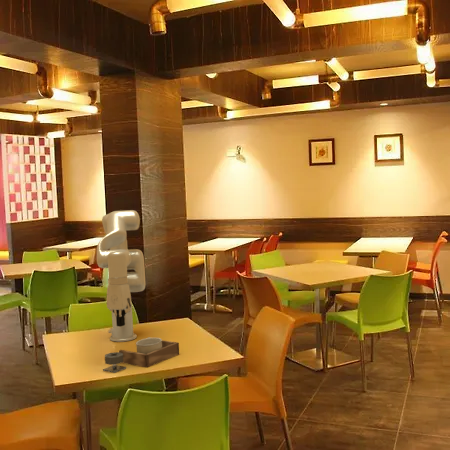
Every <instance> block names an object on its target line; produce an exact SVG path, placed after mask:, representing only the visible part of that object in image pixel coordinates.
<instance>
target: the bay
mask: <svg viewBox="0 0 450 450" xmlns="http://www.w3.org/2000/svg"><path fill="white" fill-rule="evenodd" d="M118 352H119V353H123V362H122V363H121V364H126V365H130V366H131V365H132V366H138V367H142V368H150V367H152V366H154V365H157V364H159V363H162V362H164V361H166V360H168V359H171V358H174V357H176V356H179V355H180V344H179V342H177V341H169V340H163V339H162V348H161V349H158V350H155V351H153V352H150V353H148V354H143V353H137V351H131V350H125V349H124V350H123V349H120V350H118Z"/></svg>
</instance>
